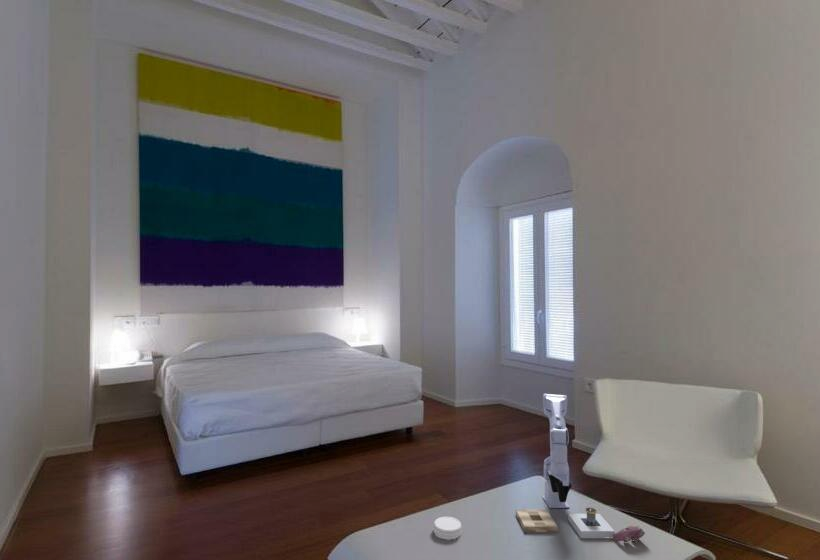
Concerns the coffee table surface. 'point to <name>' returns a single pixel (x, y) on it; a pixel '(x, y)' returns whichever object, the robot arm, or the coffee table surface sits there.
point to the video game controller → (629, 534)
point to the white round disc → (447, 528)
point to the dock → (585, 531)
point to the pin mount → (536, 526)
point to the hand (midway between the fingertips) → (558, 496)
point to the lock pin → (591, 516)
